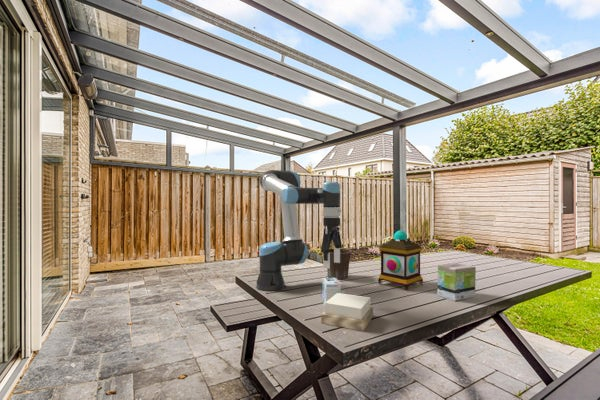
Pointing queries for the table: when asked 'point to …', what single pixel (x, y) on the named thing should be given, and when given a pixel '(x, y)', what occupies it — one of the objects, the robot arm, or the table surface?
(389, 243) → the decorative lantern
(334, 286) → the light bulb box
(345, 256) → the plant pot
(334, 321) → the tower base slab
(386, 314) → the table surface
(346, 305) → the tower top slab
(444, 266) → the tea box
